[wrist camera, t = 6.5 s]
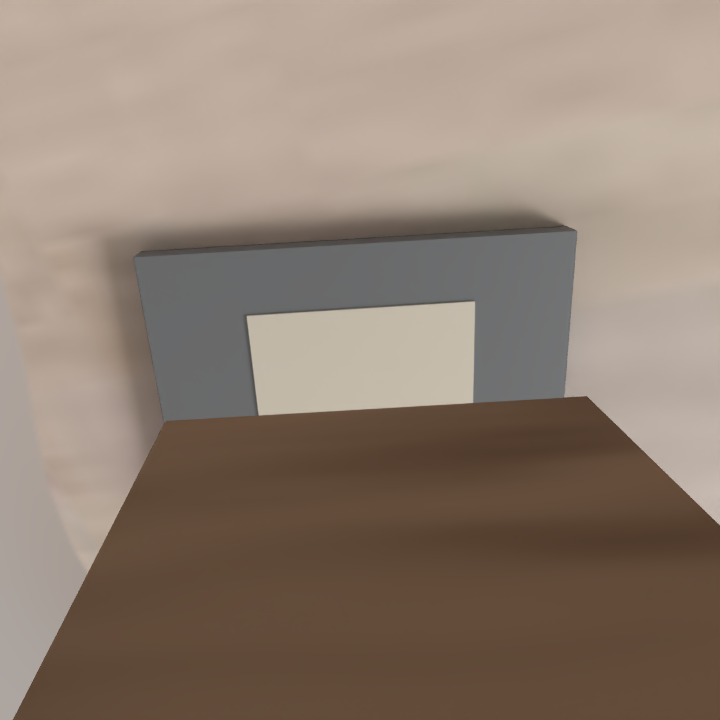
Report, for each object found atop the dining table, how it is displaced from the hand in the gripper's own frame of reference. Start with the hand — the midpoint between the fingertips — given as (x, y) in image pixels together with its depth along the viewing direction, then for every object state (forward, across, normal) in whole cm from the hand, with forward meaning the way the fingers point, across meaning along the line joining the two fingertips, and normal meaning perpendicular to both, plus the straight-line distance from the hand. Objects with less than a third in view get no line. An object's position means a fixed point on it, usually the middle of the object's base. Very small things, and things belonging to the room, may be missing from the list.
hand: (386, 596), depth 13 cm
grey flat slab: (+16, +1, -3) cm, 16 cm away
